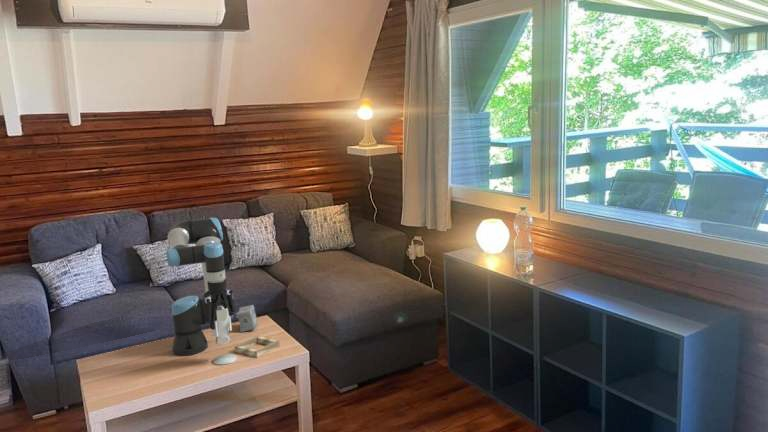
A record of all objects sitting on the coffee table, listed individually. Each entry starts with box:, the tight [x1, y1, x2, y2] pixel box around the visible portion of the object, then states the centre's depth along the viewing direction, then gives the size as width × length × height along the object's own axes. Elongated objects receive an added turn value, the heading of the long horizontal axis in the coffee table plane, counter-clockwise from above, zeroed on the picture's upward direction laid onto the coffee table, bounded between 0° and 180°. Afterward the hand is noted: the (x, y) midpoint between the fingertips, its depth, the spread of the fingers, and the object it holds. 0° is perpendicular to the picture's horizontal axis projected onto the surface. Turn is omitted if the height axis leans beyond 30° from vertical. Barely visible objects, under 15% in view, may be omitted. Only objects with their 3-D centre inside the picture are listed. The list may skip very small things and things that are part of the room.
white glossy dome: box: [212, 353, 238, 366], centre depth 260 cm, size 10×10×1 cm
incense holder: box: [235, 304, 258, 333], centre depth 295 cm, size 10×8×10 cm
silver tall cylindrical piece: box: [215, 306, 231, 346], centre depth 257 cm, size 7×7×15 cm
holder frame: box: [234, 335, 281, 358], centre depth 270 cm, size 14×14×2 cm
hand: (222, 332), depth 258 cm, fingers closed on silver tall cylindrical piece, 7 cm apart
